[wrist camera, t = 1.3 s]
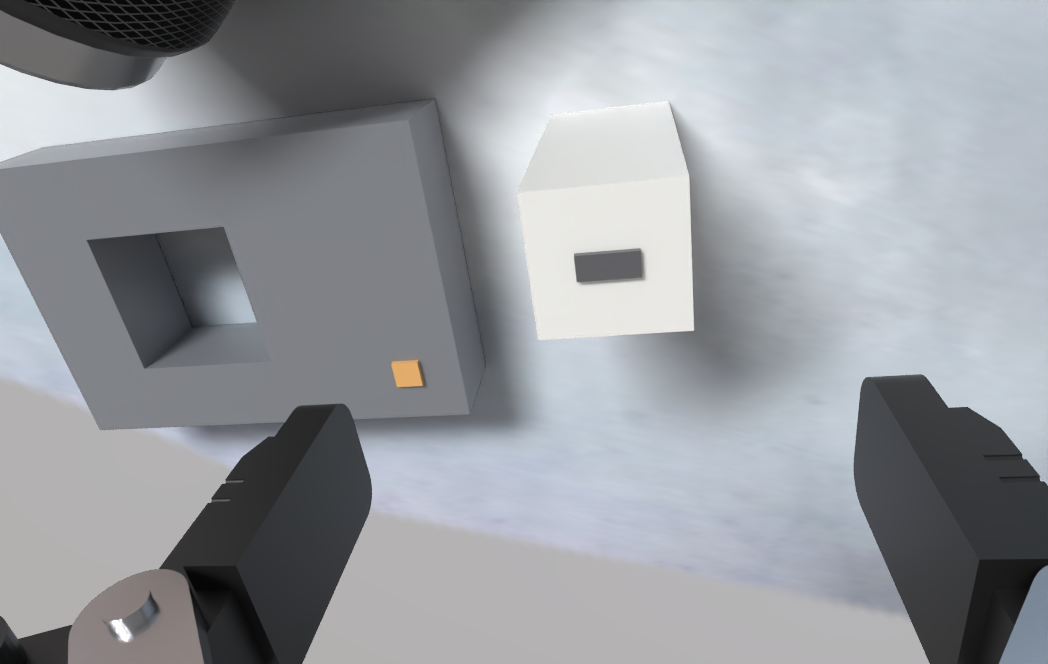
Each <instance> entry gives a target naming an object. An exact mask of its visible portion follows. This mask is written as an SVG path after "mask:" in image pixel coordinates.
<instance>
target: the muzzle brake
mask: <svg viewBox="0 0 1048 664" xmlns="http://www.w3.org/2000/svg"><path fill="white" fill-rule="evenodd" d="M235 1H236V0H0V64H2V65H4V66H7V67H9V68H12V69H14V70H17V71H19V72H22V73H25V74H28V75H31V76H35V77H38V78H41V79H45V80H48V81H51V82H55V83H59V84H64V85H69V86H75V87H80V88H85V89H98V90H119V89H125V88H132V87H135V86H137V85H139V84H141V83H143V82H146V81H148V80H150V79H151V78H152V77H153V76H154V75H155V74H156V72H157V71H158V70H159V69H160V67H161V66H162V64H163V62H164V61H165V59H166V57H172V56H176V55H179V54H182V53H185V52H188V51H190V50H193V49H195V48H197V47H199V46H202V45H204V44H206V43H207V42H208V41H209V40H210V39H211V38H212V36H213V35H214V34H215V33H216V31H217V30H218V28H219V27H220V25H221V23H222V22H223V20H224V19H225V17H226V15H227V14H228V12H229V11H230V9H231V7H232V6H233V4H234V3H235Z"/></svg>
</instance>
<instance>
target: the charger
mask: <svg viewBox="0 0 1048 664" xmlns="http://www.w3.org/2000/svg"><path fill="white" fill-rule="evenodd" d="M517 199H518V206H519V213H520V220H521V227H522V233H523V240H524V247H525V254H526V261H527V267H528V274H529V281H530V288H531V295H532V302H533V308H534V315H535V322H536V329H537V336H538V340H549V339H566V338H582V337H599V336H615V335H632V334H648V333H665V332H681V331H694V313H693V280H692V247H691V214H690V181H689V173H688V169H687V166H686V162H685V158H684V155H683V151H682V148H681V144H680V140H679V137H678V133H677V129H676V126H675V122H674V119H673V115H672V111H671V108H670V104H669V101H661V102H653V103H644V104H636V105H627V106H619V107H610V108H601V109H593V110H584V111H576V112H567V113H559V114H551V117H550V119H549V121H548V123H547V126H546V128H545V130H544V132H543V135H542V137H541V139H540V141H539V144H538V146H537V148H536V150H535V153H534V155H533V157H532V159H531V162H530V164H529V166H528V168H527V171H526V173H525V175H524V177H523V180H522V182H521V184H520V186H519V189H518V191H517Z"/></svg>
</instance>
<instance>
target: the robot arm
mask: <svg viewBox="0 0 1048 664" xmlns="http://www.w3.org/2000/svg"><path fill="white" fill-rule="evenodd" d="M1039 477H1040V476H1039V475H1038V473H1037V472H1036V471H1035V470H1034V468H1033V467H1032V466H1031V465H1030V463H1029V462H1028V461H1027V460H1026V459H1023V458H1022V453H1021V452H1020V451H1019V450H1018V448H1017V447H1016V446H1015V445H1014V443H1013V442H1012V441H1011V440H1010V438H1009V437H1008V436H1007V435H1006V433H1005V432H1004V431H1003V430H1002V429H1001V428H1000V427H998V426H997V425H995V424H994V423H992V422H990V421H989V420H987V419H986V418H984V417H982V416H981V415H979V414H978V413H976V412H974V411H973V410H971V409H970V408H968V407H958V408H948V407H947V405H946V404H945V402H944V401H943V400H942V398H941V397H940V396H939V394H938V393H937V391H936V390H935V389H934V387H933V386H932V385H931V383H930V382H929V380H928V379H927V378H926V377H925V376H924V375H921V374H920V375H901V376H882V377H867V378H865V379H864V381H863V383H862V386H861V392H860V402H859V412H858V423H857V433H856V444H855V454H854V479H855V486H856V492H857V496H858V499H859V502H860V505H861V507H862V510H863V512H864V514H865V517H866V519H867V521H868V523H869V526H870V528H871V530H872V533H873V535H874V537H875V539H876V542H877V544H878V546H879V549H880V551H881V553H882V555H883V558H884V560H885V562H886V565H887V567H888V569H889V571H890V574H891V576H892V578H893V581H894V583H895V585H896V587H897V590H898V592H899V594H900V596H901V599H902V601H903V603H904V606H905V608H906V610H907V612H908V615H909V617H910V619H911V622H912V624H913V626H914V628H915V631H916V633H917V635H918V637H919V640H920V642H921V644H922V647H923V649H924V651H925V654H926V656H927V658H928V660H929V663H930V664H1048V486H1047V484H1046V483H1045V482H1041V481H1040V478H1039ZM371 499H372V485H371V478H370V474H369V471H368V468H367V464H366V461H365V458H364V454H363V451H362V448H361V444H360V441H359V438H358V434H357V431H356V428H355V424H354V421H353V418H352V415H351V412H350V410H349V408H348V407H347V406H346V405H345V404H341V403H340V404H320V405H301V406H298V407H296V408H295V409H294V410H293V412H292V413H291V414H290V416H289V417H288V419H287V420H286V422H285V423H284V424H283V426H282V427H281V429H280V430H279V431H278V433H277V434H276V436H275V437H268V438H266V439H265V440H264V441H262V442H261V443H260V444H258V445H257V446H256V447H255V448H253V449H252V450H251V451H249V452H248V453H247V454H245V455H244V456H243V457H242V458H241V459H240V461H239V462H238V463H237V465H236V466H235V467H234V469H233V470H232V471H231V473H230V474H229V476H228V477H227V479H226V483H225V484H222V485H221V486H220V488H219V489H218V490H217V492H216V493H215V494H214V496H213V497H212V502H211V503H208V504H207V505H206V506H205V508H204V509H203V510H202V512H201V513H200V514H199V516H198V517H197V518H196V520H195V521H194V522H193V524H192V525H191V526H190V528H189V529H188V530H187V532H186V533H185V535H184V536H183V538H182V539H181V540H180V541H179V543H178V544H177V545H176V547H175V548H174V550H173V551H172V552H171V553H170V555H169V556H168V557H167V559H166V560H165V561H164V563H163V564H162V565H161V567H160V568H159V569H155V570H149V571H145V572H141V573H138V574H135V575H132V576H130V577H127V578H125V579H123V580H121V581H119V582H117V583H116V584H114V585H112V586H111V587H109V588H107V589H106V590H105V591H103V592H102V593H100V594H99V595H98V596H97V597H95V598H94V599H93V600H92V601H91V602H90V603H89V604H88V605H87V606H86V607H85V608H84V609H83V610H82V611H81V613H80V614H79V616H78V617H77V618H76V620H75V622H74V623H73V625H69V626H66V627H62V628H58V629H55V630H51V631H47V632H43V633H39V634H36V635H32V636H28V637H24V638H21V639H17V637H16V636H15V634H14V633H13V632H12V630H11V629H10V627H9V626H8V624H7V623H6V621H5V620H4V619H3V618H2V617H1V616H0V664H302V663H303V661H304V658H305V655H306V653H307V652H308V649H309V647H310V645H311V643H312V640H313V638H314V636H315V634H316V631H317V629H318V627H319V625H320V622H321V620H322V618H323V615H324V613H325V611H326V609H327V607H328V604H329V602H330V600H331V598H332V595H333V593H334V591H335V589H336V586H337V584H338V582H339V579H340V577H341V575H342V573H343V570H344V568H345V566H346V564H347V562H348V559H349V557H350V555H351V553H352V550H353V548H354V545H355V543H356V541H357V539H358V537H359V534H360V532H361V530H362V528H363V526H364V523H365V521H366V519H367V517H368V514H369V511H370V506H371Z"/></svg>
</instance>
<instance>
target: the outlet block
mask: <svg viewBox="0 0 1048 664" xmlns="http://www.w3.org/2000/svg"><path fill="white" fill-rule="evenodd" d="M216 227H224V230H225V233H226V235H227V238H228V241H229V244H230V247H231V250H232V252H233V255H234V258H235V261H236V264H237V267H238V270H239V272H240V275H241V278H242V281H243V284H244V287H245V290H246V292H247V295H248V298H249V301H250V304H251V307H252V309H253V312H254V315H255V318H256V321H257V323H245V324H231V325H216V326H202V327H192V325H191V323H190V320H189V318H188V315H187V313H186V310H185V308H184V305H183V303H182V300H181V298H180V295H179V293H178V290H177V288H176V285H175V283H174V280H173V278H172V275H171V273H170V270H169V268H168V265H167V263H166V260H165V258H164V255H163V253H162V250H161V248H160V245H159V243H158V240H157V238H156V235H155V233H164V232H174V231H185V230H195V229H206V228H216ZM0 233H1V235H2V237H3V239H4V241H5V243H6V245H7V247H8V249H9V251H10V253H11V255H12V257H13V259H14V261H15V263H16V265H17V267H18V269H19V271H20V273H21V275H22V277H23V279H24V281H25V283H26V285H27V287H28V288H29V290H30V292H31V294H32V296H33V298H34V300H35V302H36V304H37V306H38V308H39V310H40V312H41V314H42V316H43V318H44V320H45V322H46V324H47V326H48V328H49V330H50V332H51V334H52V336H53V338H54V340H55V342H56V344H57V346H58V348H59V350H60V352H61V354H62V356H63V358H64V360H65V362H66V364H67V366H68V368H69V370H70V371H71V373H72V375H73V377H74V379H75V381H76V383H77V385H78V387H79V389H80V391H81V393H82V395H83V397H84V399H85V401H86V403H87V405H88V407H89V409H90V411H91V413H92V415H93V417H94V419H95V421H96V423H97V425H98V427H99V429H100V430H114V429H138V428H161V427H185V426H209V425H233V424H257V423H280V422H286V420H287V419H288V417H289V416H290V414H291V413H292V412H293V410H294V409H295V408H296V407H298V406H301V405H320V404H340V403H341V404H345V405H346V406H347V407H348V408H349V410H350V412H351V415H352V418H353V419H376V418H399V417H423V416H447V415H470V413H471V410H472V407H473V404H474V401H475V398H476V395H477V392H478V389H479V386H480V383H481V380H482V377H483V374H484V371H485V368H486V364H485V359H484V354H483V348H482V343H481V338H480V333H479V327H478V322H477V317H476V311H475V306H474V301H473V296H472V290H471V285H470V280H469V274H468V269H467V264H466V259H465V253H464V248H463V243H462V237H461V232H460V227H459V222H458V216H457V211H456V206H455V200H454V195H453V190H452V185H451V179H450V174H449V169H448V163H447V158H446V153H445V148H444V142H443V137H442V132H441V126H440V121H439V116H438V111H437V105H436V100H435V99H429V100H421V101H413V102H405V103H397V104H389V105H381V106H373V107H365V108H357V109H349V110H340V111H332V112H324V113H316V114H308V115H300V116H292V117H284V118H276V119H268V120H260V121H252V122H244V123H236V124H228V125H220V126H212V127H204V128H196V129H188V130H180V131H172V132H164V133H156V134H148V135H140V136H132V137H124V138H116V139H108V140H100V141H92V142H84V143H76V144H68V145H60V146H52V147H43V148H40V149H37V150H34V151H31V152H28V153H25V154H22V155H19V156H16V157H14V158H11V159H8V160H5V161H2V162H0Z"/></svg>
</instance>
